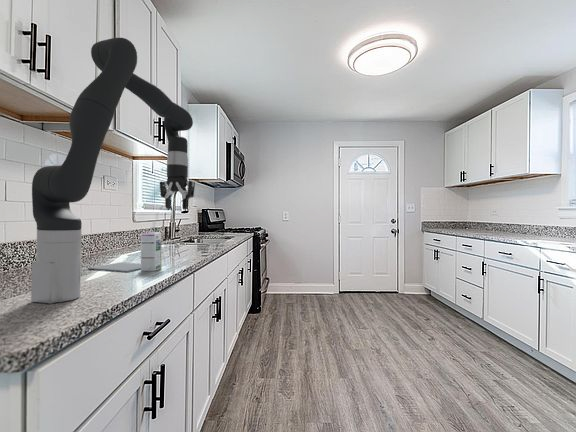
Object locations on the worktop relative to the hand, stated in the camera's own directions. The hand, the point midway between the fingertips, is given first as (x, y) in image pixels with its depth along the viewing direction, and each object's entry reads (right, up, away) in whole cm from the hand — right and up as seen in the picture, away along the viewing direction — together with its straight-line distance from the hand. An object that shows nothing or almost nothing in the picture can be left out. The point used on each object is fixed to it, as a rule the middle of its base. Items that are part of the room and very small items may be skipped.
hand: (176, 208), depth 126 cm
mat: (-23, -23, +6) cm, 34 cm away
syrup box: (-11, -24, +3) cm, 26 cm away
